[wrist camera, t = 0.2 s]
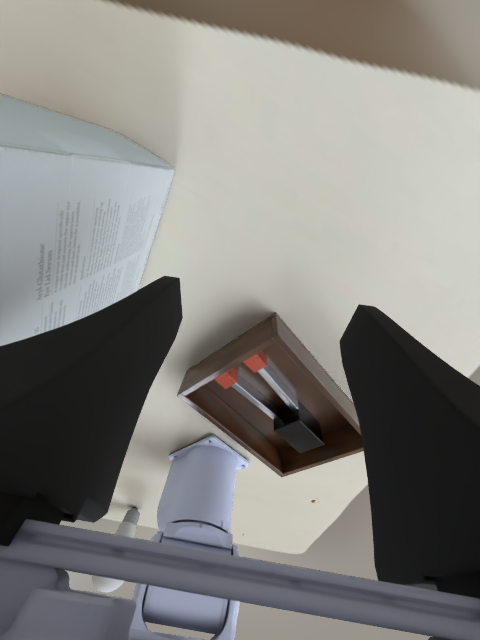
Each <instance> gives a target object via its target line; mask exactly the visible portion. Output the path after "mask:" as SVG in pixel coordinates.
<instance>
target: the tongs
mask: <svg viewBox="0 0 480 640" xmlns="http://www.w3.org/2000/svg"><path fill="white" fill-rule="evenodd" d="M243 363H245V364H246V365H247V366H248V367H249V368H250V369H251V370H252V371H253V372H254V373H255V372H257V371H258V372H259V374H260V375H261V376H262V377H263V378H264V379H265V380H266V382H267V383H268V384H269V385H270V386H271V387H272V388H273V390H274V391H275V392H276V393H277V394H278V395H279V396H280V397H281V399H282V400H283V401H284V402H285V403H286V404H284V405H282V406H279V407H277V406H276V405H274V404H273V403H272V402H271V401H270V400H268V399H267V398H266V397H265V396H263V395H262V394H261V393H260V392H259V391H257V390H256V389H255V388H254V387H252V386H251V385H250V384H249V383H248V382H246V381H245V380H244V379H243V378H242V377H240V376H239V375H238V371H237V370H236V369H235V368H234V367H233V368H232V369H230V370H228V371H227V372H225V373H223V374H222V375H220V376H218V377H217V378H215V379H214V380H216V381H217V382H218V383H219V384H220V385H221V386H222V387H224V388H225V389H227V388H228V387H230V386H232V387H233V388H234V389H235V390H237V391H238V392H239V393H240V394H242V395H243V396H244V397H245V398H247V399H248V400H249V401H251V402H252V403H253V404H254V405H256V406H257V407H258V408H259V409H261V410H262V411H263V412H264V413H266V414H267V415H268V416H270V417H271V418H272V419H273V420H274V431H275V432H276V433H277V434H278V435H279V436H280V437H282V438H283V439H284V440H285V441H286V442H287V443H288V444H290V445H291V446H292V447H293V448H294V449H295V450H296V451H298V452H299V453H303V452H306V451H309V450H311V449H314V448H317V447H320V446H323V445H325V444H324V436H323V433H322V431H321V427H320V422H319V421H318V420H317V419H316V418H315V417H314V416H313V415H312V414H311V413H310V412H309V411H308V410H307V409H306V408H305V407H304V406H303V405H302V404H301V403H300V402H299V401H298V400H297V399H296V398H295V396H294V395H293V394H292V393H291V392H290V391H289V389H288V388H287V387H286V386H285V385H284V383H283V382H282V381H281V380H280V379H279V377H278V376H277V375H276V374H275V373H274V371H273V370H272V369H271V368H270V367H269V366H268V364H267V355H266V354H265V353H264V352H263V351H260V352H259V353H257V354H255V355H254V356H252V357H250V358H249V359H247V360H245V361H243Z"/></svg>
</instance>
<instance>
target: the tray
mask: <svg viewBox="0 0 480 640" xmlns="http://www.w3.org/2000/svg"><path fill="white" fill-rule="evenodd" d="M260 351H263V352H264V353H265V354H266V355H267V364H268V366H269V367H270V368H271V369H272V370H273V371H274V373H275V374H276V375H277V376H278V377H279V379H280V380H281V381H282V382H283V383H284V385H285V386H286V387H287V388H288V389H289V391H290V392H291V393H292V394H293V395H294V396H295V398H296V399H297V400H298V401H299V402H300V403H301V404H302V405H303V406H304V407H305V408H306V409H307V410H308V411H309V412H310V413H311V414H312V415H313V416H314V417H315V418H316V419H317V420H318V421H319V422H320V427H321V431H322V433H323V436H324V444H325V445H323V446H320V447H317V448H314V449H311V450H309V451H306V452H303V453H299V452H298V451H296V450H295V449H294V448H293V447H292V446H291V445H290V444H288V443H287V442H286V441H285V440H284V439H283V438H282V437H280V436H279V435H278V434H277V433H276V432H275V431H274V420H273V419H272V418H271V417H270V416H268V415H267V414H266V413H264V412H263V411H262V410H261V409H259V408H258V407H257V406H256V405H254V404H253V403H252V402H251V401H249V400H248V399H247V398H245V397H244V396H243V395H242V394H240V393H239V392H238V391H237V390H235V389H234V388H233V387H232V386H230V387H228V388H227V389H225V388H224V387H222V386H221V385H220V384H219V383H218V382H217V381H216V380H214V379H215V378H217V377H218V376H220V375H222V374H223V373H225V372H227V371H228V370H230V369H232V368H233V367H234V368H235V369H236V370H237V371H238V375H239V376H240V377H242V378H243V379H244V380H245V381H246V382H248V383H249V384H250V385H251V386H252V387H254V388H255V389H256V390H257V391H259V392H260V393H261V394H262V395H263V396H265V397H266V398H267V399H268V400H270V401H271V402H272V403H273V404H274V405H276V406H277V407H279V406H282V405H284V404H286V403H285V402H284V401H283V400H282V399H281V397H280V396H279V395H278V394H277V393H276V392H275V391H274V390H273V388H272V387H271V386H270V385H269V384H268V383H267V382H266V380H265V379H264V378H263V377H262V376H261V375H260V374H259V372H258V371H257V372H255V373H254V372H253V371H252V370H251V369H250V368H249V367H248V366H247V365H246V364H245V363H243V361H245V360H247V359H249V358H250V357H252V356H254V355H255V354H257V353H259V352H260ZM177 396H179V397H180V398H181V399H182V400H184V401H185V402H186V403H188V404H189V405H190V406H191V407H193V408H194V409H195V410H196V411H198V412H199V413H200V414H202V415H203V416H204V417H205V418H207V419H208V420H209V421H210V422H212V423H213V424H214V425H216V426H217V427H218V428H219V429H221V430H222V431H223V432H225V433H226V434H227V435H228V436H230V437H231V438H232V439H233V440H235V441H236V442H237V443H239V444H240V445H241V446H242V447H244V448H245V449H246V450H248V451H249V452H250V453H251V454H253V455H254V456H255V457H256V458H258V459H259V460H260V461H262V462H263V463H264V464H265V465H267V466H268V467H269V468H271V469H272V470H273V471H274V472H276V473H277V474H278V475H279V476H281V477H284V476H287V475H290V474H293V473H296V472H299V471H303V470H306V469H309V468H312V467H315V466H318V465H321V464H324V463H327V462H331V461H334V460H337V459H340V458H343V457H346V456H349V455H352V454H356V453H359V452H362V451H364V449H363V443H362V437H361V431H360V426H359V421H358V417H357V413H356V410H355V406H354V404H353V403H352V401H351V400H350V399H349V398H348V397H347V396H346V394H345V393H344V392H343V391H342V390H341V389H340V387H339V386H338V385H337V384H336V383H335V381H334V380H333V379H332V378H331V377H330V376H329V374H328V373H327V372H326V371H325V370H324V369H323V367H322V366H321V365H320V364H319V363H318V361H317V360H316V359H315V358H314V357H313V356H312V354H311V353H310V352H309V351H308V350H307V349H306V347H305V346H304V345H303V344H302V343H301V342H300V340H299V339H298V338H297V337H296V336H295V334H294V333H293V332H292V331H291V330H290V329H289V327H288V326H287V325H286V324H285V323H284V322H283V320H282V319H281V318H280V317H279V316H278V315H277V313H275V314H273V315H272V316H270V317H269V318H267V319H266V320H264V321H263V322H261V323H260V324H258V325H256V326H255V327H253V328H252V329H250V330H249V331H247V332H246V333H244V334H243V335H241V336H240V337H238V338H237V339H235V340H233V341H232V342H230V343H229V344H227V345H226V346H224V347H223V348H221V349H220V350H218V351H217V352H215V353H214V354H212V355H211V356H209V357H207V358H206V359H204V360H203V361H201V362H200V363H198V364H197V365H195V366H194V367H192V368H191V369H189V370H188V371H187V372H186V374H185V377H184V379H183V382H182V384H181V387H180V389H179V392H178V394H177Z"/></svg>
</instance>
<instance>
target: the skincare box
mask: <svg viewBox="0 0 480 640" xmlns="http://www.w3.org/2000/svg"><path fill="white" fill-rule="evenodd" d="M174 173H175V169H174V167H173V166H171V165H170V164H168V163H167V162H165V161H163V160H162V159H160V158H159V157H157V156H156V155H154V154H153V153H151V152H150V151H148V150H146V149H145V148H143V147H141V146H140V145H138V144H136V143H135V142H133V141H131V140H130V139H128V138H126V137H124V136H122V135H120V134H118V133H117V132H115V131H113V130H110V129H107V128H104V127H101V126H98V125H95V124H92V123H89V122H86V121H83V120H80V119H77V118H74V117H71V116H68V115H65V114H61V113H58V112H55V111H52V110H49V109H46V108H43V107H40V106H37V105H34V104H31V103H28V102H25V101H22V100H19V99H16V98H13V97H10V96H7V95H4V94H1V93H0V346H3V345H6V344H9V343H13V342H16V341H20V340H23V339H26V338H29V337H32V336H35V335H38V334H41V333H44V332H47V331H50V330H53V329H56V328H59V327H61V326H64V325H67V324H69V323H72V322H74V321H77V320H79V319H82V318H84V317H86V316H89V315H91V314H93V313H95V312H98V311H100V310H102V309H104V308H106V307H108V306H110V305H112V304H114V303H116V302H118V301H120V300H121V299H123V298H125V297H127V296H129V295H131V294H132V293H134V292H136V291H137V290H138V287H139V284H140V281H141V278H142V275H143V272H144V268H145V265H146V262H147V259H148V256H149V252H150V249H151V246H152V243H153V240H154V236H155V233H156V230H157V227H158V224H159V221H160V217H161V214H162V211H163V208H164V205H165V202H166V198H167V195H168V192H169V189H170V185H171V182H172V179H173V176H174Z"/></svg>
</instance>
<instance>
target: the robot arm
mask: <svg viewBox="0 0 480 640" xmlns="http://www.w3.org/2000/svg"><path fill="white" fill-rule="evenodd" d="M181 320H182V305H181V291H180V278H176V277H169V276H163V277H161V278H159V279H157V280H156V281H154V282H152V283H150V284H148V285H147V286H145V287H143V288H141V289H140V290H138V291H136V292H134V293H132V294H131V295H129V296H127V297H125V298H123V299H121V300H120V301H118V302H116V303H114V304H112V305H110V306H108V307H106V308H104V309H102V310H100V311H98V312H95V313H93V314H91V315H89V316H86V317H84V318H82V319H79V320H77V321H74V322H72V323H69V324H67V325H64V326H61V327H59V328H56V329H53V330H50V331H47V332H44V333H41V334H38V335H35V336H32V337H29V338H26V339H23V340H20V341H16V342H13V343H9V344H6V345H3V346H0V640H204V639H197V638H191V637H184V636H177V635H171V634H163V633H157V632H151V631H150V630H148V629H147V626H146V624H145V622H149V623H155V624H161V625H166V626H172V627H178V628H183V629H189V630H195V631H200V632H206V633H212V634H215V635H214V637H212V638H211V639H210V640H234V639H235V629H236V622H237V617H238V611H239V604H240V602H244V603H250V604H256V605H261V606H266V607H272V608H277V609H283V610H289V611H295V612H300V613H306V614H311V615H316V616H322V617H327V618H333V619H338V620H344V621H350V622H355V623H361V624H367V625H372V626H377V627H383V628H388V629H394V630H400V631H405V632H410V633H416V634H421V635H427V636H433V637H430V638H429V639H428V640H480V386H479V385H477V384H476V383H474V382H473V381H471V380H470V379H468V378H467V377H465V376H464V375H462V374H461V373H460V372H458V371H457V370H455V369H454V368H452V367H451V366H450V365H448V364H447V363H446V362H444V361H443V360H442V359H440V358H439V357H438V356H436V355H435V354H434V353H432V352H431V351H430V350H429V349H427V348H426V347H425V346H423V345H422V344H421V343H420V342H419V341H417V340H416V339H415V338H414V337H412V336H411V335H410V334H409V333H408V332H406V331H405V330H404V329H403V328H401V327H400V326H399V325H398V324H397V323H395V322H394V321H393V320H392V319H391V318H389V317H388V316H387V315H385V314H384V313H383V312H382V311H380V310H379V309H377V308H376V307H373V306H366V305H358V307H357V309H356V311H355V313H354V315H353V317H352V319H351V321H350V322H349V324H348V326H347V328H346V330H345V332H344V334H343V336H342V338H341V340H340V349H341V357H342V363H343V367H344V371H345V375H346V378H347V382H348V385H349V389H350V392H351V396H352V399H353V403H354V406H355V410H356V413H357V417H358V421H359V426H360V431H361V437H362V443H363V449H364V455H365V463H366V470H367V477H368V486H369V495H370V504H371V514H372V528H373V542H374V559H375V560H374V561H375V568H376V572H377V577H378V581H376V580H371V579H365V578H360V577H354V576H348V575H342V574H336V573H331V572H325V571H320V570H314V569H308V568H303V567H297V566H291V565H286V564H280V563H274V562H269V561H263V560H256V559H251V558H245V557H241V554H240V552H239V551H238V547H237V546H236V545H233V544H232V538H233V535H232V534H230V528H231V517H232V507H233V496H234V486H235V475H236V471H237V470H240V469H242V468H245V467H248V466H249V461H247V460H246V459H245V458H243V457H242V456H241V455H240V454H238V453H237V452H236V451H234V450H233V449H232V448H230V447H229V446H228V445H226V444H225V443H224V442H222V441H221V440H220V439H218V438H217V437H216V436H214V435H212V436H209V437H207V438H205V439H203V440H201V441H198V442H196V443H194V444H192V445H190V446H188V447H186V448H184V449H181V450H179V451H177V452H175V453H173V454H171V455H169V457H168V459H169V460H171V461H172V465H171V468H170V471H169V474H168V477H167V480H166V483H165V486H164V489H163V492H162V496H161V499H160V502H159V505H158V511H157V522H158V527H159V530H160V531H158V532H157V534H155V535H154V536H153V537H152V539H151V540H150V541H149V540H143V539H138V538H132V537H126V536H121V535H115V534H109V533H103V532H98V531H92V530H86V529H80V528H75V527H69V526H64V525H59V524H60V522H61V520H63V521H69V522H75V521H76V520H82V521H88V522H93V523H94V522H96V521H97V520H99V519H100V518H102V517H103V516H104V515H105V514H106V513H107V512H108V509H109V506H110V502H111V499H112V496H113V493H114V489H115V486H116V483H117V480H118V476H119V473H120V470H121V467H122V464H123V461H124V458H125V455H126V452H127V449H128V446H129V443H130V440H131V437H132V434H133V432H134V429H135V426H136V423H137V421H138V418H139V415H140V412H141V410H142V407H143V405H144V402H145V399H146V397H147V394H148V392H149V389H150V387H151V385H152V383H153V381H154V379H155V377H156V375H157V373H158V371H159V369H160V367H161V365H162V363H163V361H164V359H165V357H166V356H167V354H168V352H169V350H170V348H171V346H172V344H173V342H174V340H175V338H176V335H177V332H178V329H179V326H180V323H181ZM65 570H68V571H73V572H78V573H84V574H89V575H95V576H100V577H106V578H111V579H117V580H122V581H128V582H134V583H136V586H135V590H134V594H133V598H132V600H130V599H125V598H121V597H116V596H111V595H106V594H101V593H94V592H87V591H79V590H71V589H70V587H69V575H68V573H67V572H66V571H65Z"/></svg>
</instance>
